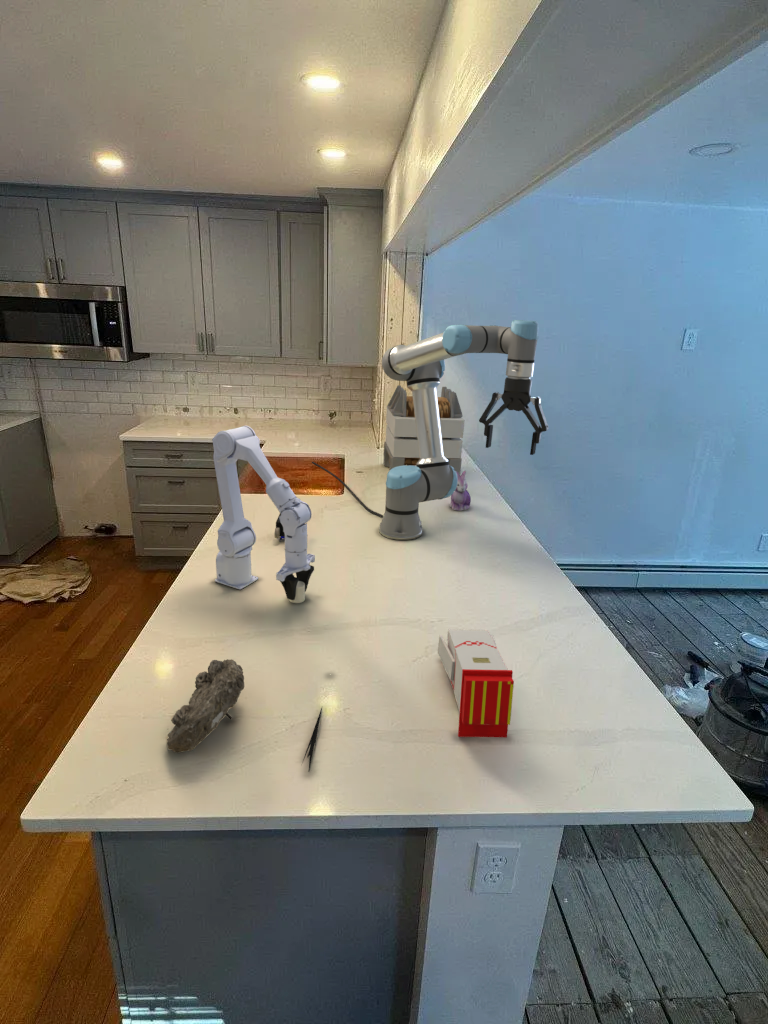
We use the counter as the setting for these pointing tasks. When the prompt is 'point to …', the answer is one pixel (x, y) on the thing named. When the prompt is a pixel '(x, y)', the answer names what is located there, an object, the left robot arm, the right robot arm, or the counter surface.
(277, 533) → the black wheeled cart
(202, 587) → the counter surface
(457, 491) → the figurine
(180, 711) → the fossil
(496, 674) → the toy
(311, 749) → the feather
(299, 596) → the can
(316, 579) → the counter surface
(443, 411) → the white slatted crate
